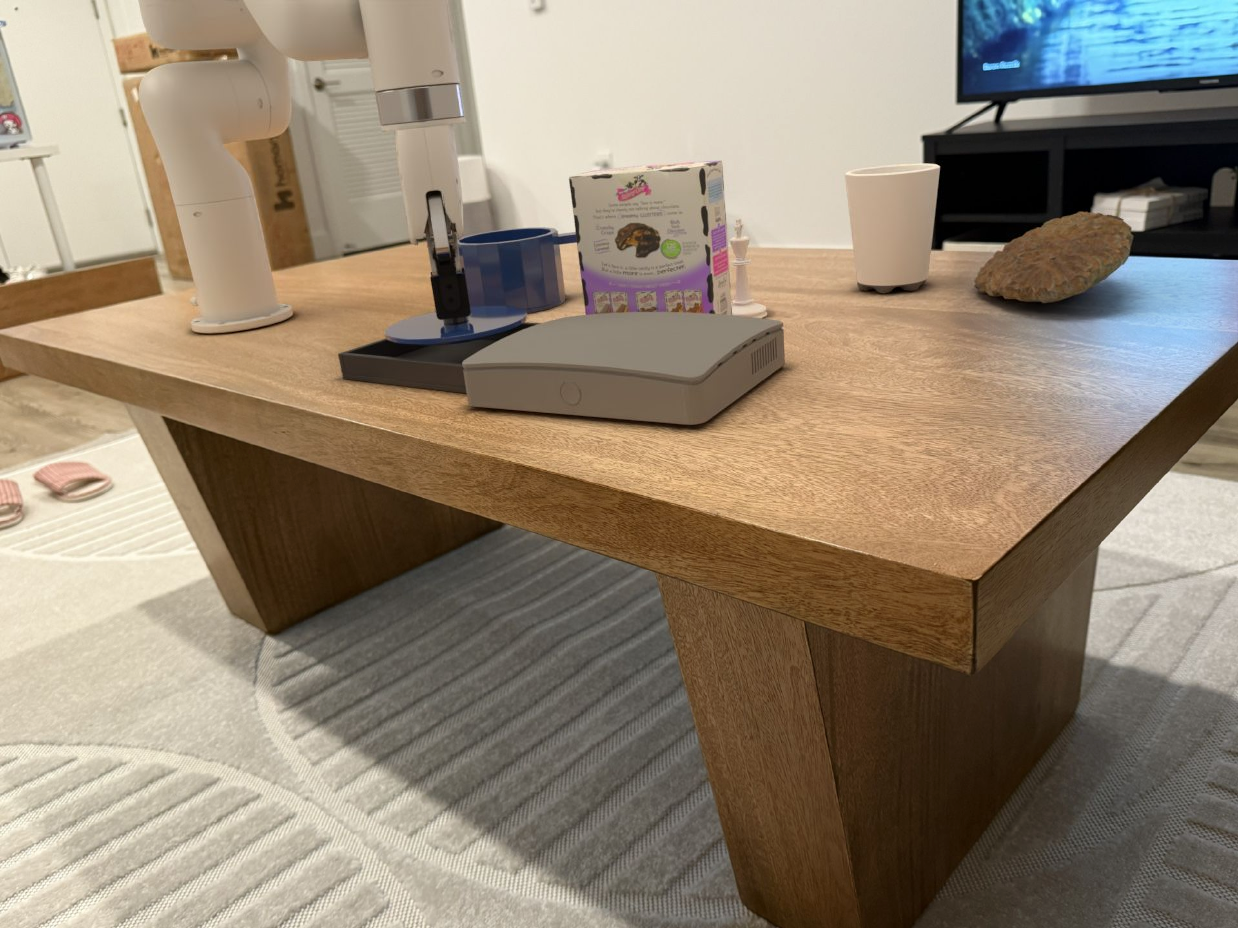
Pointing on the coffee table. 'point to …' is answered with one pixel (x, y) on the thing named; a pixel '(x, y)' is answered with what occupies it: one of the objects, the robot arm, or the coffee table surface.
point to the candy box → (653, 238)
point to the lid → (456, 326)
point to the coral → (1058, 258)
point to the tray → (415, 362)
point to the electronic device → (627, 365)
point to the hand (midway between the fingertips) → (453, 312)
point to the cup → (892, 224)
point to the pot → (515, 267)
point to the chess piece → (743, 278)
